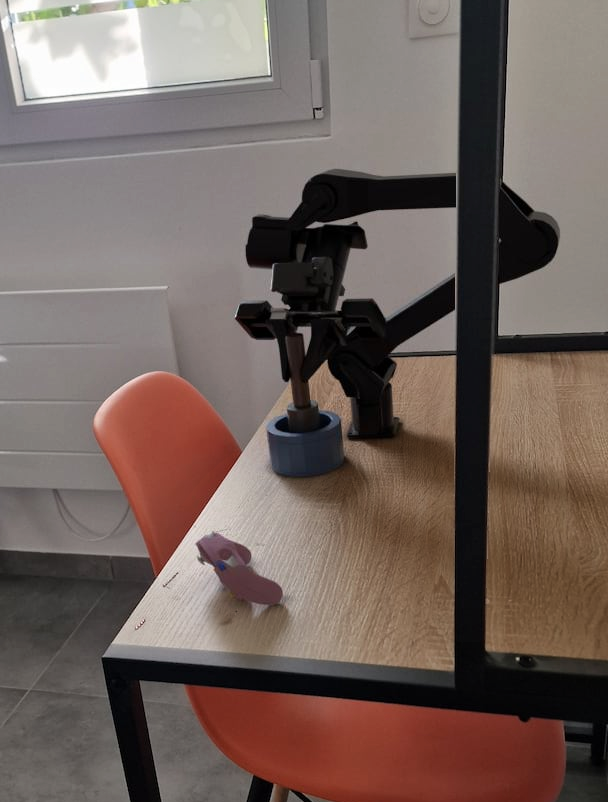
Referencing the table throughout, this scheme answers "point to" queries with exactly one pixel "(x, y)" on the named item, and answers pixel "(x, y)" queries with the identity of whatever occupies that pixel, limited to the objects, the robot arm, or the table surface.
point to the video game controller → (237, 570)
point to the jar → (305, 446)
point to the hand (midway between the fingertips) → (293, 381)
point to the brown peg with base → (300, 389)
